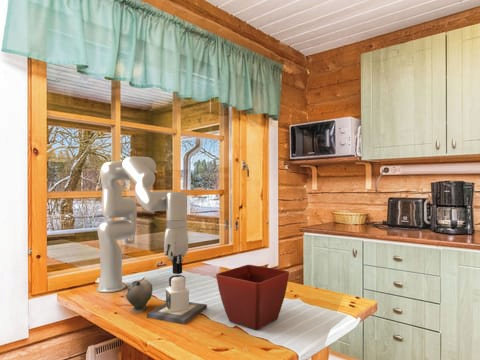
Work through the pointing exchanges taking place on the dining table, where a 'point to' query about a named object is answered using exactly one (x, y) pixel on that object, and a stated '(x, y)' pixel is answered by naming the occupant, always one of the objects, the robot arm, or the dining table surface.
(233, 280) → the plant pot
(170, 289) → the medicine bottle
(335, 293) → the dining table surface
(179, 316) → the charcoal board
